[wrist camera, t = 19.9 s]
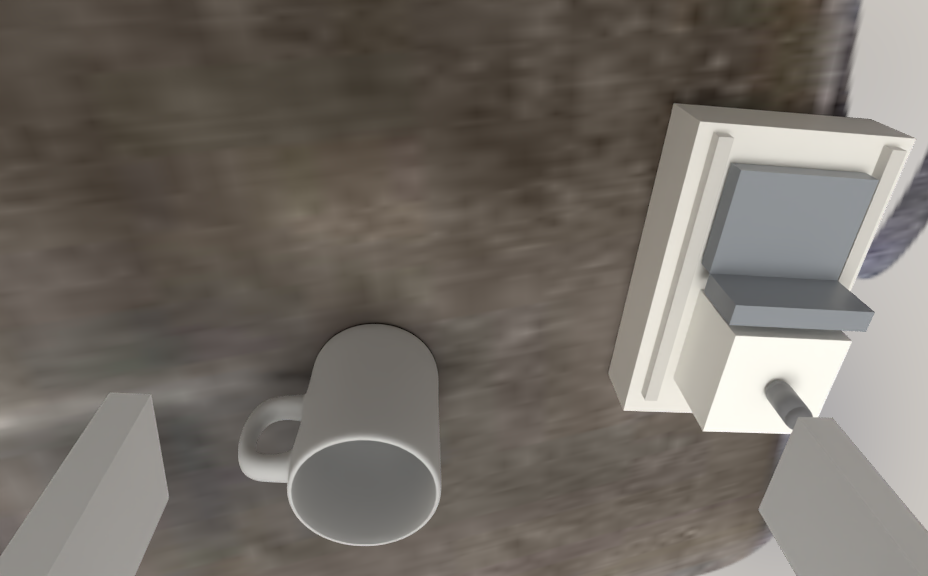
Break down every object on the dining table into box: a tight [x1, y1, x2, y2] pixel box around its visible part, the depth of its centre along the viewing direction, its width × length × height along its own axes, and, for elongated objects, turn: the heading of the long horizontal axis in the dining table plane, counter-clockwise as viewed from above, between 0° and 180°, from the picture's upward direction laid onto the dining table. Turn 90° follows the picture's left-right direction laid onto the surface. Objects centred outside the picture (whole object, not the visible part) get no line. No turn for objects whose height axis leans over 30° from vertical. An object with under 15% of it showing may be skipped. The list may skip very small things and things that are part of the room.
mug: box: [238, 324, 441, 546], centre depth 40 cm, size 12×8×11 cm
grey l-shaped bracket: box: [702, 163, 879, 332], centre depth 35 cm, size 7×8×5 cm
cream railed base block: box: [608, 103, 916, 413], centre depth 40 cm, size 19×12×5 cm, turn 175°
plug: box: [673, 289, 852, 434], centre depth 39 cm, size 6×6×12 cm
